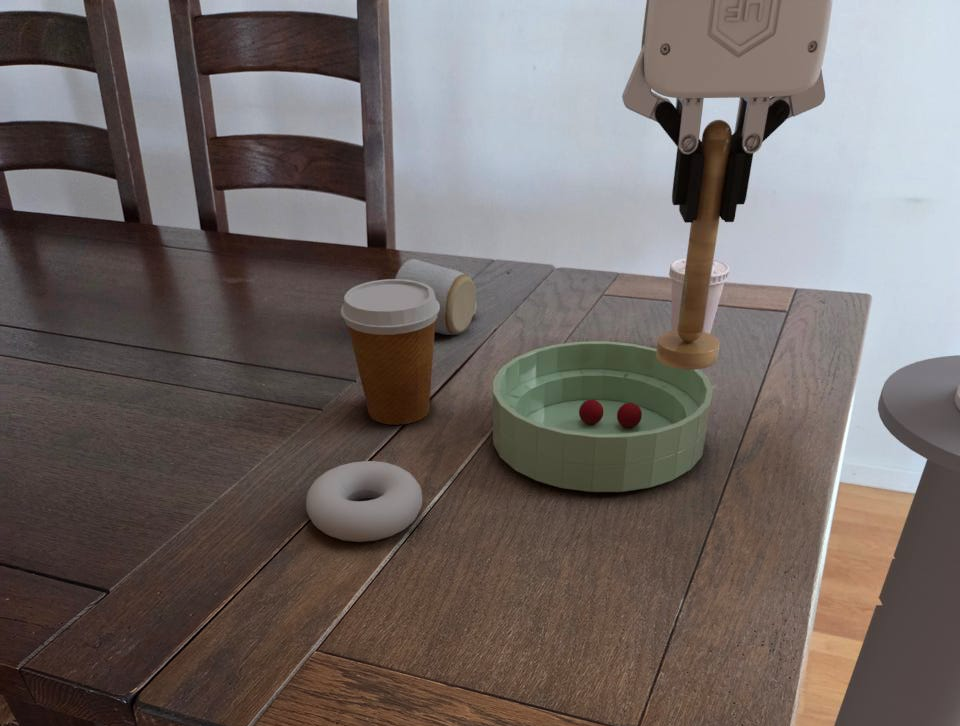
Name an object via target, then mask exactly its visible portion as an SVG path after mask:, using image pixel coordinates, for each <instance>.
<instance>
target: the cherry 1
mask: <svg viewBox="0 0 960 726" xmlns="http://www.w3.org/2000/svg"><path fill="white" fill-rule="evenodd" d="M579 416H580V418H581V420H582V421H583V422H584V423H586V424H589V425H593V424H596V423H598V422H599V421H600V420H601V419H602V417H603V407H602V405H601V404H600V403H599V402H598V401H596V400H587V401H585V402H584V403H583V404H582V405H581V406H580V409H579Z"/></svg>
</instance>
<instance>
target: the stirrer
mask: <svg viewBox="0 0 960 726" xmlns="http://www.w3.org/2000/svg"><path fill="white" fill-rule="evenodd" d="M732 135H733V132H732V128H731V126H730V124H729V123H728V122H727V121H725V120H722V119H714V120H712V121H711V122H708V124H707V125H706V126H705V127H704V129H703V131H702V135H701V142H702V144H701V152H702V153H703V155H704V156H705V161H704V169H703V177H702V184H701V191H700V199H699V206H698V214H697V220H694V221H693V223H690V228H689V235H688V236H689V237H688V244H687V252H686V258H687V259H686V266H685V274H684V282H683V290H682V298H681V305H680V313H679V321H678V330H673V331H672V330H669V331H666V332H664V333H662V334H660V335H659V336H658V338H657V342H656V349H657V351H656V357H657V359H658V360H659V361H660V362H661V363H663V364H665V365H667V366H670V367H673V368H678V369H688V370H693V369H700V370H701V369H706V368H709V367H711V366H713V365H714V364H716V363H717V361H718V357H719V352H720V344H721V343H720V340H719V338H717V336H715V335H713V334H712V333H710V334H709V333H706V332H703V328H704V321H705V314H706V307H707V300H708V294H709V287H710V280H711V273H712V267H713V260H714V259H715V253H716V246H717V239H718V232H719V225H720V220H721V217H720V211H721V205H722V198H723V191H724V184H725V178H726V171H727V164H728V157H729V151H730V144H731V138H732Z"/></svg>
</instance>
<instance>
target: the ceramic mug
mask: <svg viewBox="0 0 960 726" xmlns="http://www.w3.org/2000/svg"><path fill="white" fill-rule="evenodd" d="M394 279H402V280H412V281H417V282H421V283H423V284H426V285H428V286H429V287H431V288H432V289H433V291H434V294H435V298H436V300H437V301H438V302H439V304H440V310H439V312H438V314H437V318H436V320H435V333H436V334H441V335H447V336H456V335H459V334H461V333H463V332H464V331H465V330H466V329H467V328H468V327H469V325H470V324H471V322H472V319H473V317H474V316H475V314H476V311H477V307H478V302H477V290H476V286H475V284H474V281H473V280H472V278H471V277H470V276H469V275H467V274H465V273H463V272H461V271H460V270H456V269H453V268H448V267H444V266H441V265H437V264H433V263H430V262H426V261H423V260H420V259H416V258H412V259H411V258H410V259H408V260H406V261H405V262H404V263H402V265H401V266H400V267H399V269H398V270H397V272H396V274H395V278H394Z"/></svg>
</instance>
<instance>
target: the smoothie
mask: <svg viewBox="0 0 960 726" xmlns="http://www.w3.org/2000/svg"><path fill="white" fill-rule="evenodd" d="M686 259H687V257H682V258H679V259H676V260H674V261H673V262H671V264H670V266H669V272H668V276H669V278H670V279H671V331H673V330H678V321H679V313H680V305H681V298H682V290H683V282H684V274H685V266H686ZM729 277H730V266H729V265H728V264H727V263H726V262H724V261H721V260H719V259H715V258H714V260H713V267H712V273H711V280H710V287H709V294H708V300H707V307H706V314H705V321H704V328H703V332H706V333H709V334H711V332H712V328H713V326H714V321H715V318H716V315H717V310H718V307H719V303H720V300H721V296H722V293H723V289H724V286H725V282H726V281H728V280H729Z"/></svg>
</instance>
